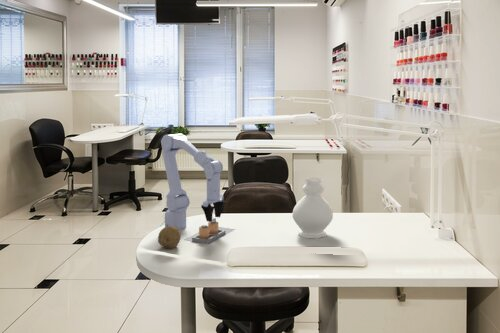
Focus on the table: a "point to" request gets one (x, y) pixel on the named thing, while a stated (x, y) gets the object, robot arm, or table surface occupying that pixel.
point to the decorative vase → (312, 210)
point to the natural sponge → (169, 237)
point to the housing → (212, 238)
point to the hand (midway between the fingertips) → (213, 219)
